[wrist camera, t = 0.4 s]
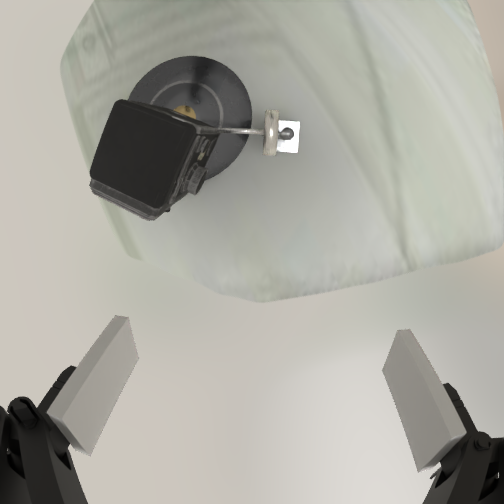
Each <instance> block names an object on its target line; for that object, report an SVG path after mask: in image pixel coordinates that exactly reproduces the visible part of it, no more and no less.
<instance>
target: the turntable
mask: <svg viewBox="0 0 504 504" xmlns="http://www.w3.org/2000/svg"><path fill="white" fill-rule="evenodd" d="M130 100H132V101H137V102H142V103H147V104H152V105H156V106H160V107H165V108H169V109H171V110H173V111H176V112H179V113H181V114H184V115H186V116H189V117H191V118H194V119H196V120H199V121H201V122H204V123H206V124H208V125H211V126H213V127H216V128H242V129H250V128H251V121H252V110H251V103H250V99H249V96H248V93H247V91H246V89H245V87H244V85H243V83H242V82H241V80H240V79H239V78H238V77H237V75H236V74H235V73H234V72H233V71H231V70H230V69H229V68H228V67H226V66H225V65H223V64H221V63H220V62H217V61H215V60H212V59H209V58H205V57H198V56H186V57H179V58H175V59H171V60H169V61H166V62H164V63H162V64H160V65H158V66H156V67H155V68H153V69H152V70H151V71H149V72H148V73H147V74H146V75H145V76H144V77H143V78H142V79H141V80H140V81H139V82H138V83H137V85H136V86H135V88H134V89H133V91H132V92H131V94H130V96H129V99H128V101H130ZM248 136H249V134H239V133H220V136H219V138H218V140H217V142H216V145H215V147H214V149H213V151H212V153H211V155H210V157H209V159H208V161H207V164H206V166H205V169H206V168H207V169H208V172H207V175H206V178H205V180H207V179H209V178H212V177H214V176H215V175H217V174H219V173H220V172H222V171H223V170H224V169H226V168H227V167H228V166H229V165H230V164H231V163H232V162H233V161H234V160H235V159H236V158H237V156H238V155H239V154H240V152H241V151H242V149H243V147H244V145H245V143H246V141H247V138H248ZM205 180H204V181H205Z"/></svg>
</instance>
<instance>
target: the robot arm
mask: <svg viewBox="0 0 504 504" xmlns="http://www.w3.org/2000/svg"><path fill="white" fill-rule="evenodd" d="M138 359H139V357H138V353H137V349H136V346H135V342H134V338H133V334H132V330H131V326H130V322H129V318H128V317H123V316H116V315H115V317H114V318H113V319H112V321H111V322H110V323H109V325H108V326H107V327H106V328H105V330H104V331H103V332H102V334H101V335H100V336H99V338H98V339H97V340H96V342H95V343H94V344H93V346H92V347H91V348H90V350H89V351H88V353H87V354H86V355H85V357H84V358H83V360H82V361H81V362H80V364H79V365H78V367H74V366H70V367H68V368H67V369H65V370H64V371H63V372H62V373H61V374H60V376H59V377H58V379H57V381H55V383H54V384H53V387H51V388H50V390H49V391H48V393H47V394H46V396H45V397H44V398H43V400H42V401H41V403H40V404H39V406H38V407H37V408H36V407H35V405H34V404H33V402H32V401H31V400H30V399H29V398H27V397H18V398H15V399H14V400H12V401H11V402H10V404H9V406H8V410H7V412H8V413H9V414H7V412H6V411H5V410H4V408H3V407H1V406H0V504H88V502H87V500H86V498H85V495H84V493H83V490H82V488H81V485H80V482H79V479H78V476H77V473H76V470H75V467H74V465H73V461H72V458H71V455H70V452H69V450H68V446H69V445H70V444H71V445H72V446H73V448H74V449H75V450H76V451H79V452H81V453H83V454H86V455H88V456H91V454H92V451H93V449H94V447H95V445H96V443H97V440H98V439H99V436H100V434H101V432H102V430H103V428H104V426H105V424H106V422H107V420H108V418H109V416H110V414H111V412H112V410H113V407H114V406H115V404H116V402H117V400H118V398H119V396H120V394H121V392H122V390H123V388H124V386H125V384H126V382H127V380H128V378H129V376H130V375H131V373H132V371H133V369H134V367H135V365H136V363H137V361H138ZM382 371H383V374H384V376H385V378H386V381H387V384H388V386H389V389H390V392H391V394H392V396H393V399H394V402H395V405H396V408H397V410H398V413H399V416H400V419H401V422H402V424H403V427H404V430H405V433H406V436H407V439H408V442H409V445H410V448H411V451H412V454H413V458H414V461H415V464H416V467H417V471H418V472H421V471H425V470H428V469H431V468H433V467H434V466H435V465H436V464H437V463H438V462H440V463H441V467H440V468H439V469H438V470H437V471H436V472H435V473H434V474H433V475H432V476H431V477H430V479H432V478H433V477H435V476H436V477H435V479H434V481H433V484H432V486H431V488H430V490H429V492H428V494H427V496H426V498H425V500H424V502H423V504H504V438H491V437H490V436H489V435H488V434H486V433H484V432H480V431H479V432H478V431H477V429H476V427H475V425H474V423H473V421H472V419H471V417H470V415H469V413H468V412H467V410H466V408H465V407H464V404H463V402H462V400H460V397H459V395H458V393H457V391H456V390H455V389H454V388H453V387H452V386H451V385H450V384H449V383H446V384H442V383H441V381H440V379H439V377H438V375H437V374H436V372H435V371H434V368H433V367H432V365H431V363H430V361H429V360H428V358H427V356H426V355H425V353H424V351H423V349H422V348H421V346H420V344H419V343H418V341H417V339H416V338H415V336H414V335H413V333H412V331H411V330H410V329H408V330H397V333H396V336H395V338H394V341H393V344H392V347H391V349H390V352H389V354H388V357H387V359H386V362H385V364H384V367H383V370H382ZM7 448H8V451H7ZM498 473H499V478H498Z"/></svg>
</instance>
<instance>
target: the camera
mask: <svg viewBox="0 0 504 504" xmlns="http://www.w3.org/2000/svg"><path fill="white" fill-rule="evenodd" d="M219 136H220V133H217V128H216V127H213V126H211V125H208V124H206V123H204V122H201V121H199V120H196V119H194V118H191V117H189V116H186V115H184V114H181V113H179V112H176V111H173V110H171V109H169V108H165V107H160V106H156V105H152V104H147V103H142V102H137V101H132V100H130V101H128V100H123V99H120V100H118V101H116V102H115V103H114V106H113V108H112V110H111V113H110V115H109V118H108V120H107V123H106V125H105V128H104V131H103V133H102V136H101V139H100V142H99V144H98V147H97V150H96V153H95V156H94V159H93V162H92V166H91V169H90V176H91V178H92V179H91V182H90V185H89V186H90V187H91V190H92V192H93V193H94V194H95V195H97V196H99V197H101V198H103V199H105V200H107V201H109V202H111V203H113V204H115V205H117V206H119V207H121V208H123V209H125V210H127V211H129V212H131V213H133V214H135V215H137V216H139V217H141V218H143V219H145V220H148V221H150V220H155V219H156V218H158V217H159V216H160V215H162V214H163V213H164V212H169V211H170V207H171V206H172V205H173V204H175V203H176V202H177V201H179V200H180V199H181V198H183V197H184V196H186V195H187V193H188V192H190V193H192V194H194V195H196V194H197V193H198V192H199V190H200V188H201V186H202V185H203V183H204V180H205V178H206V175H207V172H208V169H207V168H206V169H205V166H206V164H207V161H208V159H209V157H210V155H211V153H212V151H213V149H214V147H215V145H216V142H217V140H218V138H219Z"/></svg>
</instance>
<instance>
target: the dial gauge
mask: <svg viewBox="0 0 504 504" xmlns="http://www.w3.org/2000/svg"><path fill="white" fill-rule="evenodd" d="M299 126H300V122H293V121H282V120H279V111H278V110H266V112H265V126H264V130H262V129H242V128H217V133H239V134H259V135H264V143H263V155H270V156H276V153H277V151H280V152H292V153H298V140H299Z"/></svg>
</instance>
